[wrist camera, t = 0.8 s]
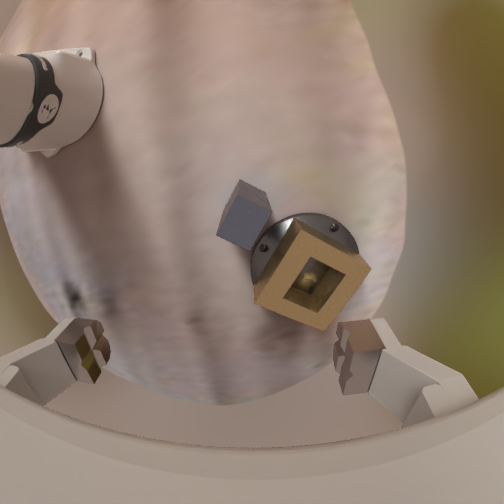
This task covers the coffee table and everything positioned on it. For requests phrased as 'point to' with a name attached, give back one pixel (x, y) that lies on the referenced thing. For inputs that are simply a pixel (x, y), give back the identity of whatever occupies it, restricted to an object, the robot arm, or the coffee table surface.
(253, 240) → the grey rectangular block
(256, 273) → the rosette plate
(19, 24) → the coffee table surface
